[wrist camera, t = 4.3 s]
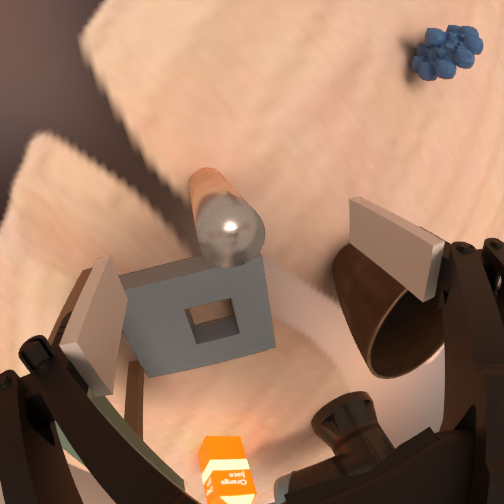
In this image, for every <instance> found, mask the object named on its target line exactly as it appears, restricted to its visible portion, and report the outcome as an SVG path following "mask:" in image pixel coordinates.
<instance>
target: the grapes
mask: <svg viewBox="0 0 504 504" xmlns="http://www.w3.org/2000/svg"><path fill="white" fill-rule="evenodd" d="M425 41H426V43H427V44H419V45H418V48H417V52H416V54H417V56H414V58H413V60H412V65H411V66H412V69H413V70H414V71H415V72H417V73H418V74H419V77H420V78H421V79H422V80H426V81H433V80H436V79H437V77H439V78H442V79H452V78H453V77H454V75H455V74H456V65H457V66H458V67H460V68H463V69H469V68H471V67H472V66H473V64H474V60H475V57H474V55H479V54H480V53H481V52H482V50H483V42H482V39H480V38H479V34H478V31H477V30H476V29H475V28H473V27H470V26H462V27H460V26H457V25H448V27H447V30H446V32H443V31H442V30H440V29H437V28H427V31H426V34H425Z"/></svg>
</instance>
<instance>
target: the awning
mask: <svg viewBox="0 0 504 504" xmlns="http://www.w3.org/2000/svg"><path fill="white" fill-rule="evenodd" d="M92 269H93V268H90V269H87V270H83V271H82V273H81V275H80V277H79V278H78V280H77V282H76V284H75V286H74V288H73V289H72V291H71V293H70V295H69V297H68V299H67V301H66V303H65V305H64V307H63V309H62V311H61V313H60V315H59V317H58V319H57V321H56V323H55V326H54V328H53V330H52V332H51V334H50V337H49V339H48V342H49V344H50V345H52V343H53V340H54V338H55V335H56V333H57V331H58V329H59V326H60V324H61V321H62V319H63V318H64V317H65V316H66V315H67V314H68V312H71V311H73V310H74V307H75V305H76V303H77V301H78V298H79V296H80V294H81V292H82V290H83V287H84V285H85V283H86V281H87V279H88V277H89V275H90V273H91V271H92ZM143 384H144V369H143V368H142V366H141V364H140V362H139V361H135V362H130V363H129V367H128V377H127V388H126V400H125V415H124V419H123V418H122V417H121V415H120V414H119V413H118V412H117V411H116V409H115V408H114V407H113V406H112V405H111V403H110V402H109V401H108V399H107V398H106V397H105V396H97V397H96V396H95V395H94V393H93V392H92V391H91V390H90V388H88V394H87V396H88V397H89V398H90V399H91V401H92V402H93V403H94V404H95V406H96V407H97V408H98V409H99V410H100V411H101V413H102V414H103V415H104V416H105V417H106V418H107V419H108V421H109V422H110V423H111V424H112V425H113V426H114V427H115V428H116V429H117V430H118V432H119V433H120V434H121V435H122V436H123V437H124V438H125V439H126V440H127V441H128V442H129V443H130V444H131V445H132V446H133V447H134V448H135V449H136V450H137V451H138V452H139V453H140V454H141V455H142V456H143V457H145V458H146V459H147V460H148V461H149V462H150V463H151V464H152V465H153V466H154V467H155V468H157V469H158V470H159V471H160V472H161V473H162V474H164V475H165V476H166V477H167V478H168V479H169V480H171V481H172V482H173V483H174V484H176V485H177V486H178V487H179V488H181V489H182V490H183V491H185V487H184V480H183V479H182V478H181V477H180V476H179V475H177V474H176V473H175V472H174V471H173V470H172V469H171V468H170V467H169V466H168V465H167V464H166V463H165V462H164V461H162V460H161V459H160V458H159V457H158V456H157V455H156V454H155V453H154V452H153V451H152V450H151V449H150V448H149V447H148V445H147V444H146V443H145V442H144V441H143ZM55 425H56V428H57V432H58V436H59V439H60V442H61V446H62V448H63V449H65V450H66V451H67V452H68V453H69V454H71V455H72V456H73V457H74V458H75V459H77V460H78V461H79V462H81V463H82V464H83V465H84V463H83V462H82V460H81V459H80V458H79V456H78V455H77V453H76V452H75V450H74V449H73V448H72V446H71V445H70V443H69V441H68V440H67V438H66V437H65V435H64V434H63V432H62V430H61V429H60V427H59V426H58V424H57V422H56V421H55ZM84 466H85V465H84Z"/></svg>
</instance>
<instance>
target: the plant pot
mask: <svg viewBox="0 0 504 504" xmlns="http://www.w3.org/2000/svg"><path fill="white" fill-rule="evenodd" d="M333 278H334V283H335V287H336V291H337V295H338V298H339V302H340V305H341V308H342V311H343V314H344V316H345V319H346V321H347V324H348V326H349V329H350V331H351V334H352V336H353V338H354V340H355V343H356V344H357V347H358V349H359V351H360V353H361V355H362V356H363V358H364V360H365V362H366V364H367V366H368V368H369V369H370V371H371V373H372V374H373V375H374V376H376V377H378V378H382V379H390V378H396V377H399V376H402V375H405V374H407V373H409V372H411V371H413V370H414V369H416V368H417V367H419V366H420V365H422V364H423V363H424V362H426V361H427V360H428V359H429V358H430V357H432V356H433V355H434V354H435V353H436V352H437V351H438V350H439V348H440V347H441V346H442V345H443V344H444V328H443V315H442V306H441V307H440V309H439V310H437V308H438V304H439V300H440V296H441V292H442V288H440V287H439V286H438V285H437V287H436V292H435V296H434V297H433V298H431V299H429V300H427V301H425V302H422V301H421V300H420V299H418V298H417V297H416V296H415V295H414V294H412V293H411V292H410V291H409V290H408V289H407V288H405V287H404V286H403V285H402V284H401V283H399V282H398V281H397V280H396V279H395V278H393V277H392V276H391V275H390V274H388V273H387V272H386V271H385V270H383V269H382V268H381V267H380V266H378V265H377V264H376V263H375V262H373V261H372V260H371V259H370V258H368V257H367V256H366V255H365V254H363V253H362V252H361V251H359V250H358V249H357V248H356V247H354V246H353V245H352V244H349V245H347V246H346V247H344V248H343V249H342V250H341V251H340V253H339V254H338V255H337V257H336V259H335V261H334V265H333Z"/></svg>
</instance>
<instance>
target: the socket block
mask: <svg viewBox="0 0 504 504" xmlns="http://www.w3.org/2000/svg"><path fill="white" fill-rule="evenodd" d="M118 277H119V279H120V282H121V284H122V286H123V289H124V291H125V294H126V296H127V298H128V302H127V307H126V312H125V317H124V322H123V328H122V331H123V333H124V335H125V337H126V339H127V340H128V342H129V344H130V346H131V348H132V350H133V352H134V354H135V355H136V357H137V359H138V361H139V362H140V364H141V366H142V368H143V369H144V371H145V373H146V375H147V376H148V378H151V377H156V376H162V375H167V374H172V373H177V372H181V371H186V370H191V369H195V368H200V367H204V366H208V365H213V364H217V363H221V362H225V361H229V360H233V359H236V358H240V357H244V356H248V355H251V354H255V353H258V352H262V351H265V350H269V349H272V348H276V346H275V339H274V332H273V326H272V319H271V312H270V306H269V300H268V293H267V287H266V279H265V273H264V267H263V260H262V256H261V254H260V252H259V253H258V254H257V255H256V256H255V257H254V258H253V259H252V260H251V261H249V262H248V263H246V264H244V265H241V266H238V267H231V268H228V267H221V266H217V265H215V264H213V263H211V262H210V261H209V260H207V259H206V258H205V256H204V255H200V256H196V257H192V258H188V259H184V260H180V261H176V262H172V263H168V264H164V265H160V266H156V267H152V268H148V269H144V270H140V271H136V272H132V273H128V274H124V275H120V276H118ZM228 298H230V300H231V304H232V308H233V313H234V315H233V316H229V317H225V318H221V319H217V320H213V321H209V322H205V323H201V324H197V325H194V323H193V320H192V317H191V314H190V311H189V308H192V307H196V306H200V305H204V304H208V303H212V302H216V301H220V300H224V299H228Z"/></svg>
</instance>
